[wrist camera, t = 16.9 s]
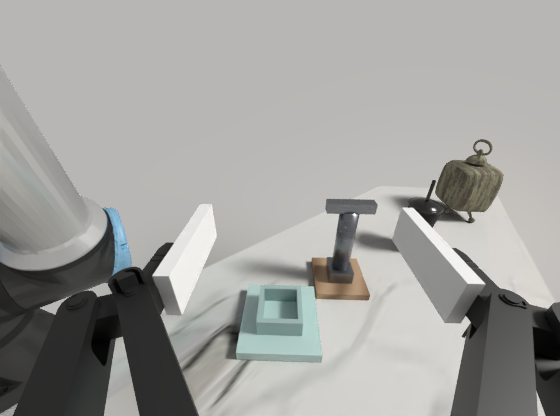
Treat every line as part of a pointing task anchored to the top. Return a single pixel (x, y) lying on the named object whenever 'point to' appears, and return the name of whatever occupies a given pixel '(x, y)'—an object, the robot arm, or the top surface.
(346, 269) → the t key
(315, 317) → the square socket base
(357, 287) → the walnut pad
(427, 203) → the drinking cup
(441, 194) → the tabletop clock
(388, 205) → the top surface
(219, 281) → the top surface
